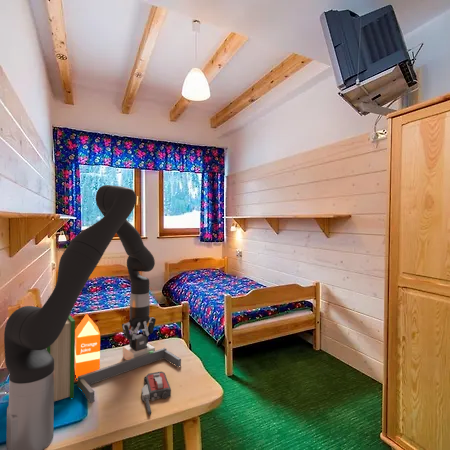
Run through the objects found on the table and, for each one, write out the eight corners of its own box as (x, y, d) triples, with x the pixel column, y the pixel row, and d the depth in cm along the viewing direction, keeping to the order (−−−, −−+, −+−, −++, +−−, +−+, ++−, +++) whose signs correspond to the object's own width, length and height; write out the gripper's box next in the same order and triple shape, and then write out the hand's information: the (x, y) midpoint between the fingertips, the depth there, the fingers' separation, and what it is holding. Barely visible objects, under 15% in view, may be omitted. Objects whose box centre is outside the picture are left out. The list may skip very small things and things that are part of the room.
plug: (136, 360, 115) (137, 339, 115) (131, 356, 118) (132, 336, 118) (145, 357, 118) (146, 337, 118) (140, 353, 121) (141, 334, 121)
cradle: (90, 402, 89) (90, 389, 89) (77, 386, 97) (77, 374, 97) (180, 366, 112) (181, 355, 112) (164, 356, 120) (164, 346, 120)
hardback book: (73, 398, 91) (75, 320, 90) (45, 407, 86) (47, 325, 86) (61, 374, 105) (62, 306, 104) (37, 381, 100) (38, 310, 99)
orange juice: (97, 364, 112) (98, 311, 112) (99, 375, 105) (101, 319, 104) (73, 368, 108) (74, 314, 108) (75, 380, 101) (76, 322, 100)
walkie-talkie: (138, 382, 102) (145, 419, 83) (138, 369, 102) (146, 403, 83) (164, 377, 105) (176, 412, 86) (164, 365, 105) (177, 397, 86)
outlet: (133, 366, 112) (133, 354, 112) (122, 357, 118) (123, 346, 118) (154, 358, 118) (154, 347, 118) (143, 351, 124) (143, 340, 124)
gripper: (127, 309, 110) (126, 355, 110) (160, 302, 120) (159, 344, 120) (118, 304, 115) (117, 348, 116) (151, 298, 125) (150, 338, 126)
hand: (138, 346), depth 118 cm, fingers open, 4 cm apart
